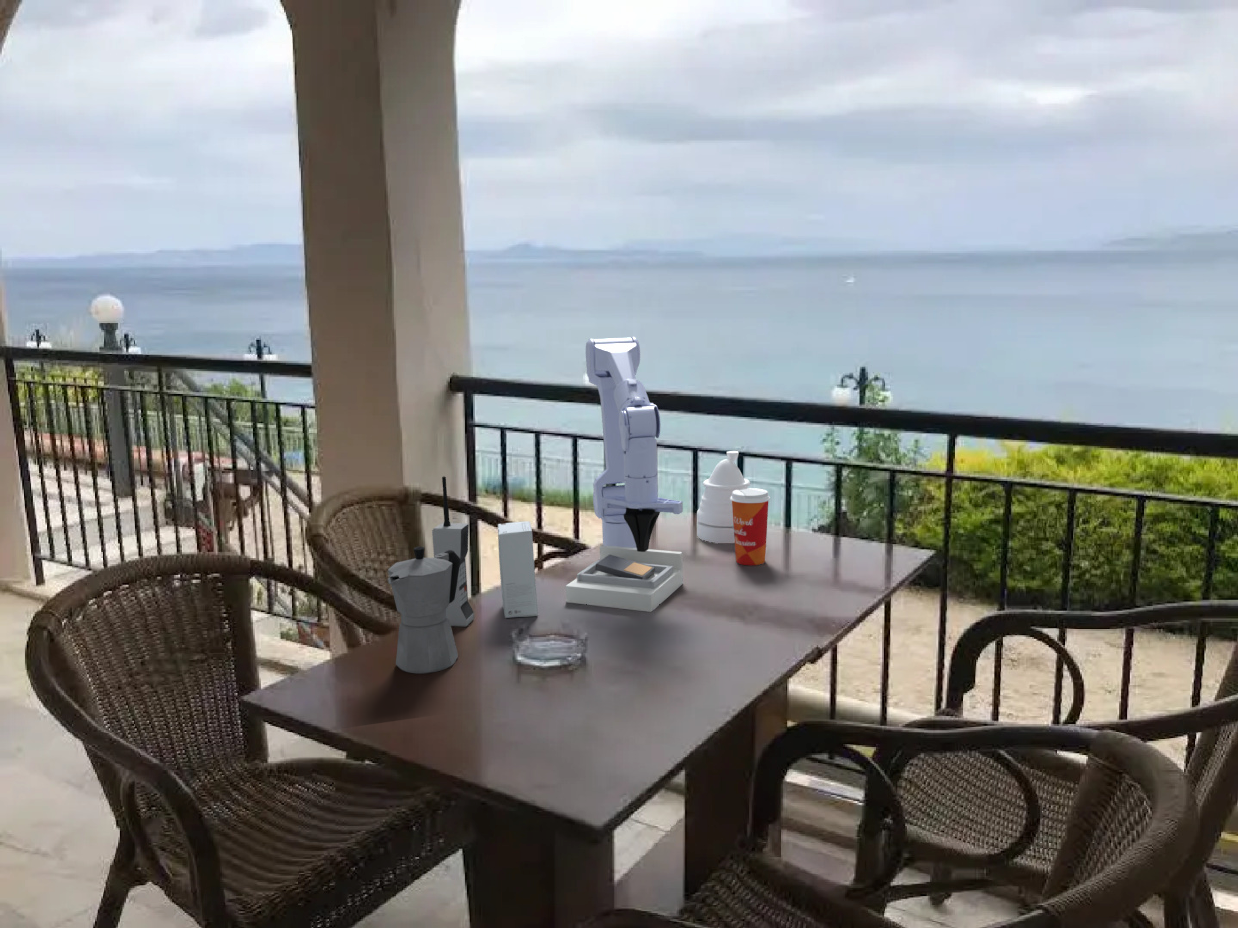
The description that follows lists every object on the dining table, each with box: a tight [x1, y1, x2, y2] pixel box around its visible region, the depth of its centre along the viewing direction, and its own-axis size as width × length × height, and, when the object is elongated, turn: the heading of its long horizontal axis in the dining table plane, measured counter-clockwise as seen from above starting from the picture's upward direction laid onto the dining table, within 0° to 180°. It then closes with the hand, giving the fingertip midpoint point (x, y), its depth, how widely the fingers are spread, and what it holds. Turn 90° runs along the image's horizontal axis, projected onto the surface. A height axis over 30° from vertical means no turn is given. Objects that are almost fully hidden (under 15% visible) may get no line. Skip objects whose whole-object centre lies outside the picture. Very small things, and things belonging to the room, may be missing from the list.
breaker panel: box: [565, 544, 684, 613], centre depth 180 cm, size 16×16×6 cm
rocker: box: [595, 554, 655, 580], centre depth 179 cm, size 6×9×1 cm, turn 67°
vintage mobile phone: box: [431, 475, 475, 628], centre depth 165 cm, size 4×5×25 cm
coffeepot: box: [387, 545, 460, 674], centre depth 150 cm, size 15×9×18 cm, turn 150°
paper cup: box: [730, 487, 771, 567], centre depth 195 cm, size 8×8×14 cm
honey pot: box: [696, 450, 751, 544], centre depth 214 cm, size 13×13×18 cm
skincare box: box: [497, 520, 539, 619], centre depth 172 cm, size 8×6×15 cm
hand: (642, 550), depth 177 cm, fingers closed
